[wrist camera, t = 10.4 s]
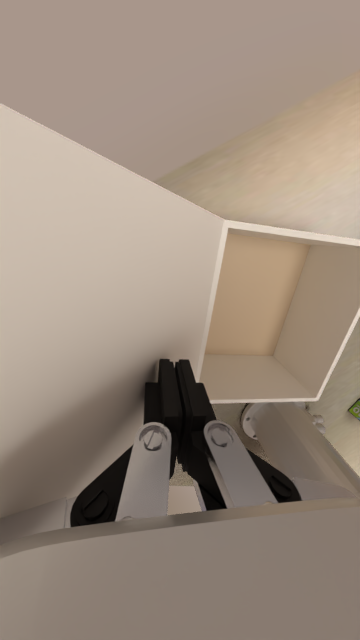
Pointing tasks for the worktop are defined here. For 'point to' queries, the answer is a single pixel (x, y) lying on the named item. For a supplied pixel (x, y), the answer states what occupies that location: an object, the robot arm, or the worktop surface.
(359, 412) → the snack box
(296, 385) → the carton
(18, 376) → the carton lid
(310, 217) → the worktop surface
